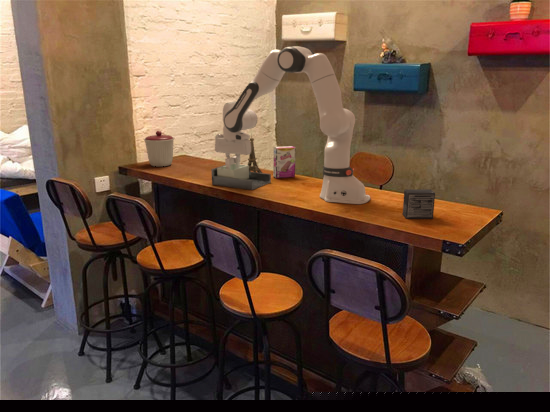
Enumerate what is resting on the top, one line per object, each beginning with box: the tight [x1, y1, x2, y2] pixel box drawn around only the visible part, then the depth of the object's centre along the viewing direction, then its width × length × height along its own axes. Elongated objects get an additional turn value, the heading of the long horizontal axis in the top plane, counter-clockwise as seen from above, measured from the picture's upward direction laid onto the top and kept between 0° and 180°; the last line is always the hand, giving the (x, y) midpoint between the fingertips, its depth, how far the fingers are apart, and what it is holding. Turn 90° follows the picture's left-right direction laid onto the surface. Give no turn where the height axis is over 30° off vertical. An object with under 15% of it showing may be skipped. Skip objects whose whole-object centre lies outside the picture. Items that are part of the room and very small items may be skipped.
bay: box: [211, 164, 272, 191], centre depth 230 cm, size 24×18×8 cm
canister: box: [143, 130, 175, 168], centre depth 275 cm, size 18×18×21 cm
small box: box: [402, 188, 436, 220], centre depth 175 cm, size 11×6×10 cm, turn 88°
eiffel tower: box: [247, 137, 263, 173], centre depth 244 cm, size 11×11×25 cm
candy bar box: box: [272, 145, 297, 179], centre depth 243 cm, size 11×5×16 cm, turn 110°
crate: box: [216, 155, 249, 180], centre depth 231 cm, size 10×14×12 cm
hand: (232, 162), depth 230 cm, fingers closed on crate, 2 cm apart
